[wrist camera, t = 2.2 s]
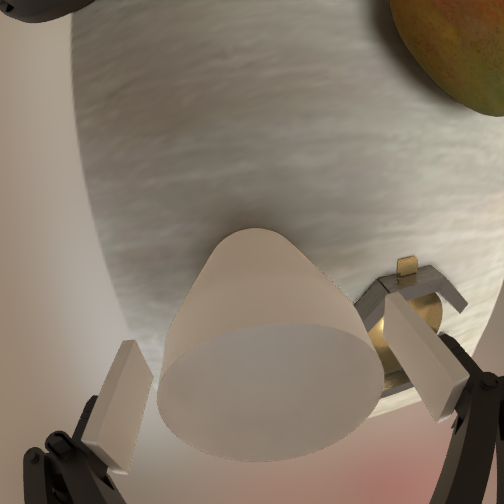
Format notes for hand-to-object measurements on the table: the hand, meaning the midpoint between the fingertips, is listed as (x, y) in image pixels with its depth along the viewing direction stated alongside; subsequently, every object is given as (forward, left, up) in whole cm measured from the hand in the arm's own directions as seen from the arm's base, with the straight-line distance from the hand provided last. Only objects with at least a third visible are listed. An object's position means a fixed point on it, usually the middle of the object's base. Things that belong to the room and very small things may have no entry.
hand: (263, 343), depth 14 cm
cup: (0, 0, -8) cm, 8 cm away
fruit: (-16, +17, -8) cm, 25 cm away
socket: (+9, +12, -7) cm, 17 cm away
